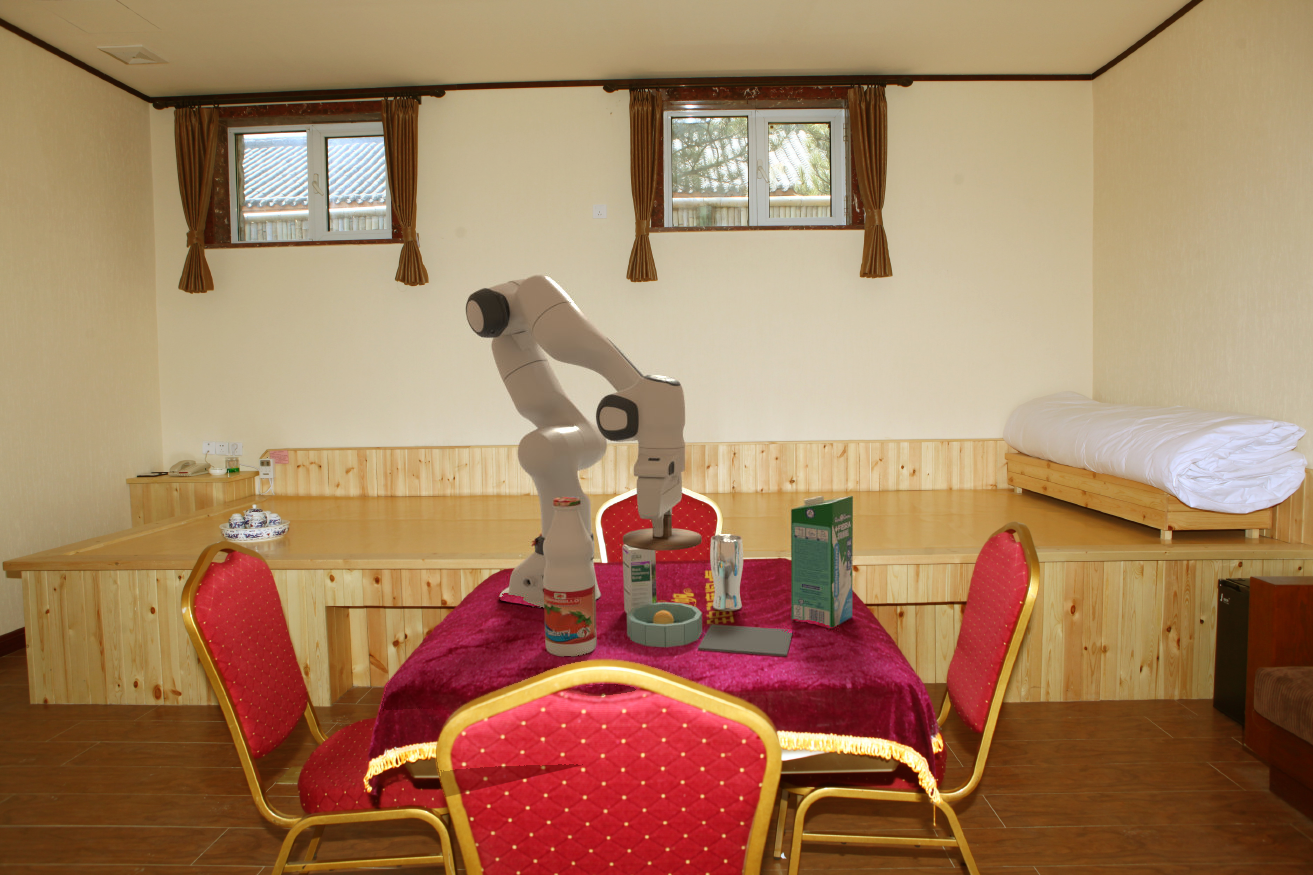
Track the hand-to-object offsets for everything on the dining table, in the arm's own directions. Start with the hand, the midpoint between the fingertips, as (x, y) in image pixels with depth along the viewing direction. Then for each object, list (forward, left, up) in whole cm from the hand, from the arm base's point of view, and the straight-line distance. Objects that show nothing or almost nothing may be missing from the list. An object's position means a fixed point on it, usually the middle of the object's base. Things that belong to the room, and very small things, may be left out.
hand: (661, 533), depth 151 cm
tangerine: (0, 0, -17) cm, 17 cm away
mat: (+16, -1, -20) cm, 26 cm away
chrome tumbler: (+9, +19, -20) cm, 29 cm away
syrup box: (-8, +11, -20) cm, 24 cm away
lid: (0, 0, -1) cm, 1 cm away
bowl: (0, 0, -20) cm, 20 cm away
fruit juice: (-15, -11, -20) cm, 27 cm away
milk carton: (+29, +15, -20) cm, 38 cm away
